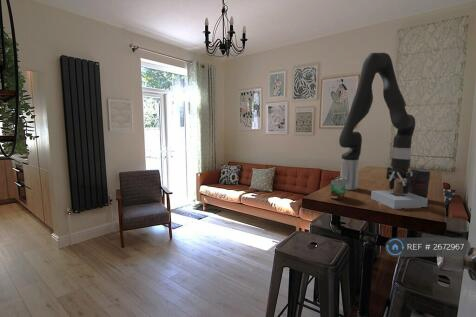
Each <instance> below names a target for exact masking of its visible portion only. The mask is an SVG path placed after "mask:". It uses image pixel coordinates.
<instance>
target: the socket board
mask: <svg viewBox="0 0 476 317" xmlns="http://www.w3.org/2000/svg"><path fill="white" fill-rule="evenodd" d="M393 193H394V189H388V190H371V193H370V194H371V195H370V199H371V200H374V201H376V202H377V203H380V204H382V205H385V206H387V207H389V208H391V209H393V210H398V209H399V210H401V209H402V208H404V209H422V208H421V207H427V208H428V202H429V201H428V200H429V199H428V198H427V197H426V198H424V197H421V196H418V195H415V194H412V193H409V192H408V194H402V196H395V195H393Z"/></svg>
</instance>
